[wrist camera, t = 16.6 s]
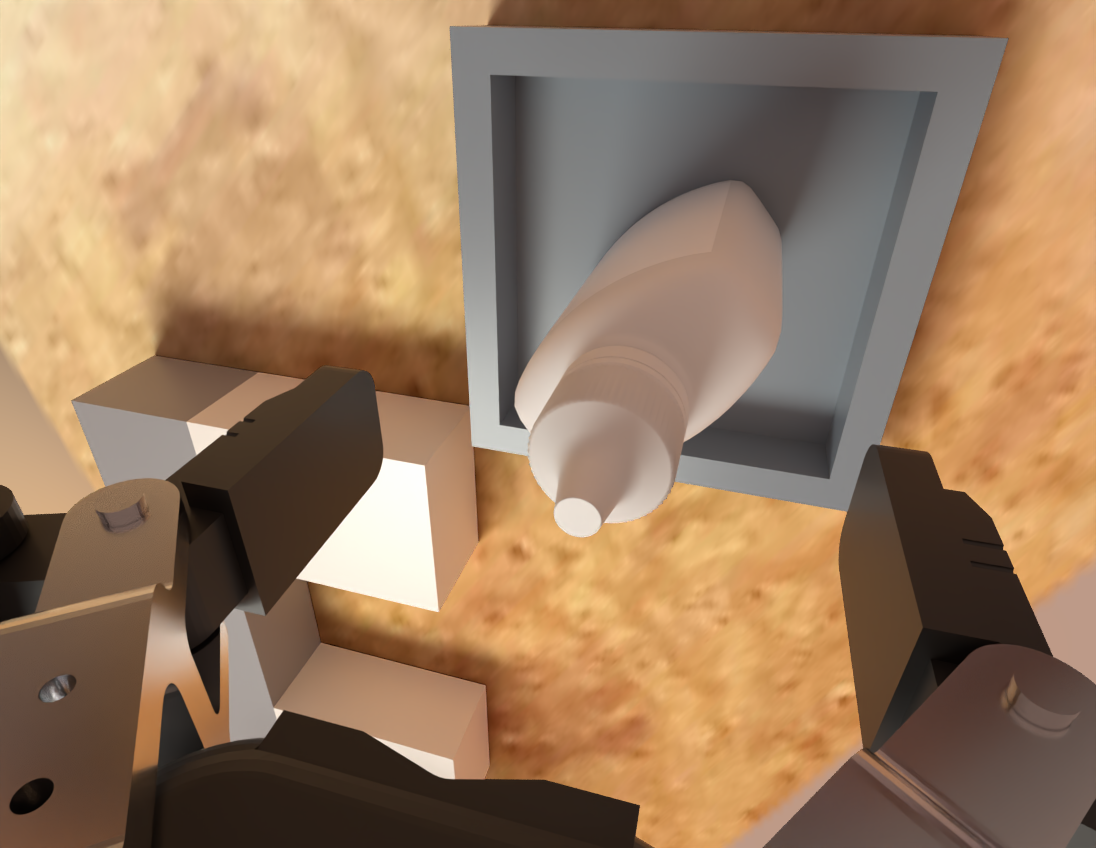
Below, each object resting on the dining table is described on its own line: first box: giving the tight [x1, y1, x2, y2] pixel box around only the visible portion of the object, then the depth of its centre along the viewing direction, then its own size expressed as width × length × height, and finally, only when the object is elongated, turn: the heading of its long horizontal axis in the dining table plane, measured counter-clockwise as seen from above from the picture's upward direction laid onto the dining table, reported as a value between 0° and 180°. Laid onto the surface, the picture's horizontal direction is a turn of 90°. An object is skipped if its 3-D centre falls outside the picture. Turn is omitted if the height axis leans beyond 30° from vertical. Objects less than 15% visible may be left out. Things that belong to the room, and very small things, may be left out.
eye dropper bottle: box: [515, 180, 782, 537], centre depth 15 cm, size 4×6×12 cm
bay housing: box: [71, 356, 490, 779], centre depth 30 cm, size 22×14×4 cm, turn 179°
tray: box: [450, 25, 1008, 512], centre depth 19 cm, size 12×12×2 cm
